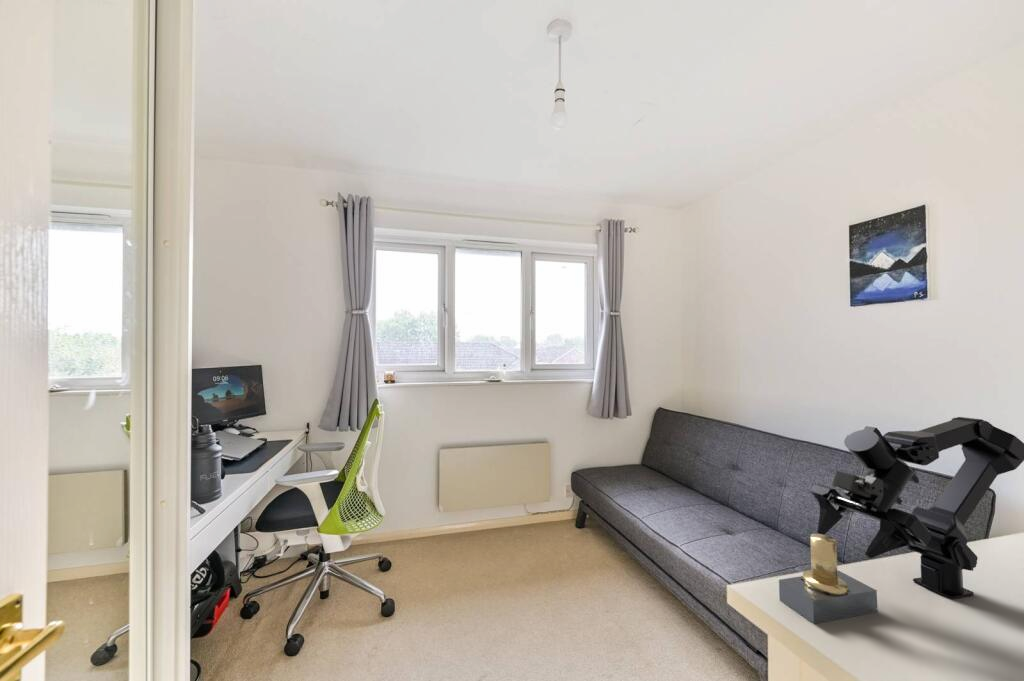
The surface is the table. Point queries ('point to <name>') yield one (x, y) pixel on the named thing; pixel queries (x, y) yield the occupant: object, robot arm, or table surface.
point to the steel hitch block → (827, 599)
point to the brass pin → (824, 567)
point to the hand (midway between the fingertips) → (842, 544)
